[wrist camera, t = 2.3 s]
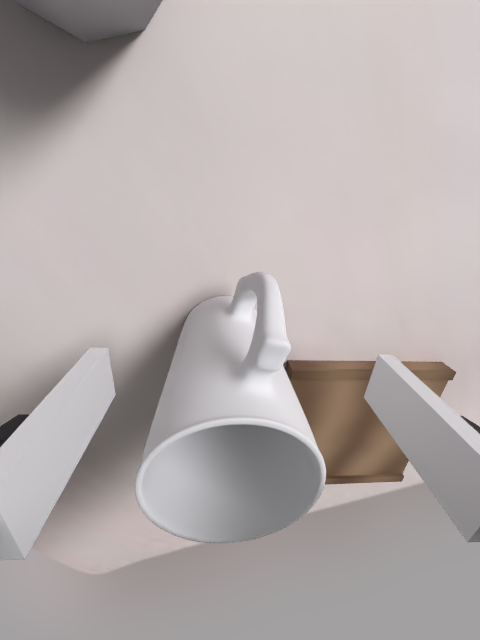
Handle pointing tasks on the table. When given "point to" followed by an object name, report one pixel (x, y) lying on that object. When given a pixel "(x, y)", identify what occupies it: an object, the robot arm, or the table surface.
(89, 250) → the table surface
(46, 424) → the robot arm
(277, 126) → the table surface
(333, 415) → the wooden coaster
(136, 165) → the table surface
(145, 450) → the mug
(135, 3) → the toilet tissue
